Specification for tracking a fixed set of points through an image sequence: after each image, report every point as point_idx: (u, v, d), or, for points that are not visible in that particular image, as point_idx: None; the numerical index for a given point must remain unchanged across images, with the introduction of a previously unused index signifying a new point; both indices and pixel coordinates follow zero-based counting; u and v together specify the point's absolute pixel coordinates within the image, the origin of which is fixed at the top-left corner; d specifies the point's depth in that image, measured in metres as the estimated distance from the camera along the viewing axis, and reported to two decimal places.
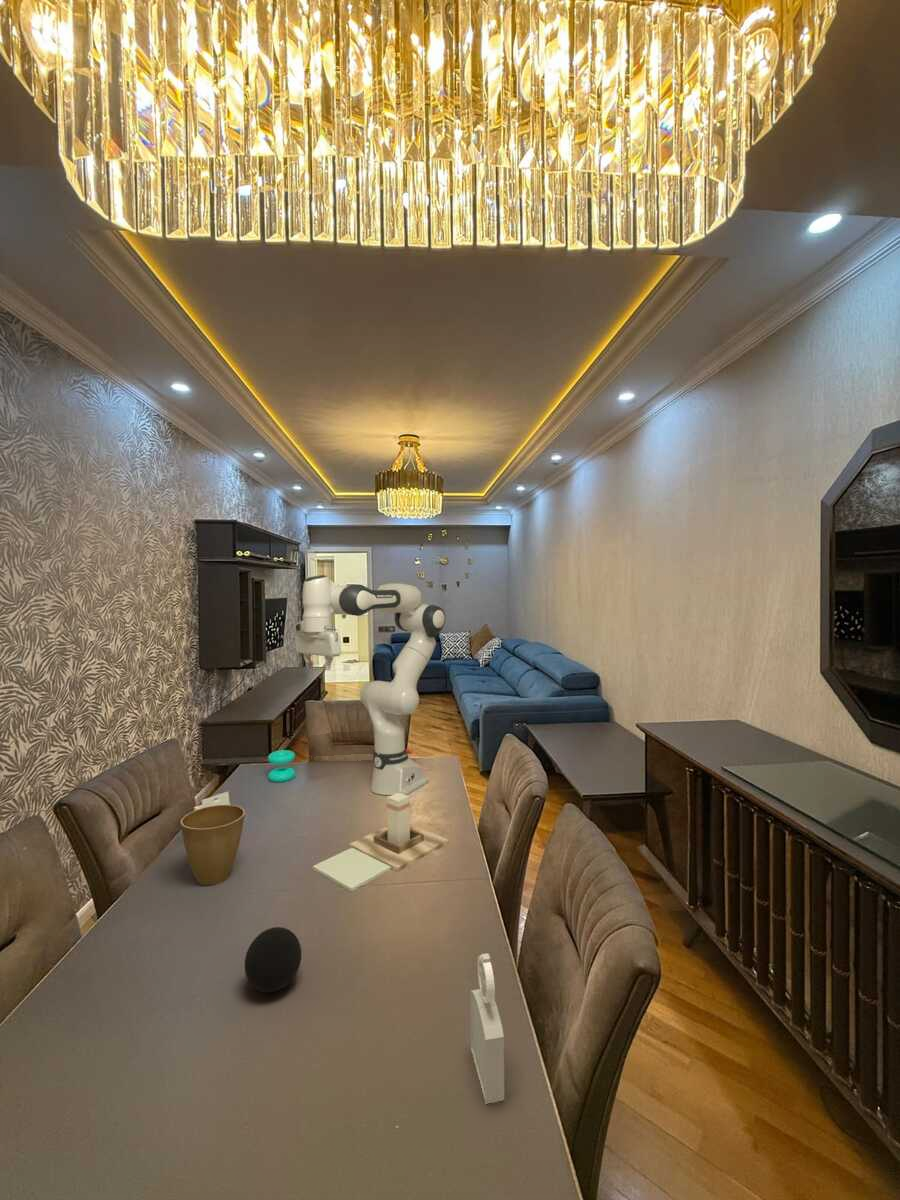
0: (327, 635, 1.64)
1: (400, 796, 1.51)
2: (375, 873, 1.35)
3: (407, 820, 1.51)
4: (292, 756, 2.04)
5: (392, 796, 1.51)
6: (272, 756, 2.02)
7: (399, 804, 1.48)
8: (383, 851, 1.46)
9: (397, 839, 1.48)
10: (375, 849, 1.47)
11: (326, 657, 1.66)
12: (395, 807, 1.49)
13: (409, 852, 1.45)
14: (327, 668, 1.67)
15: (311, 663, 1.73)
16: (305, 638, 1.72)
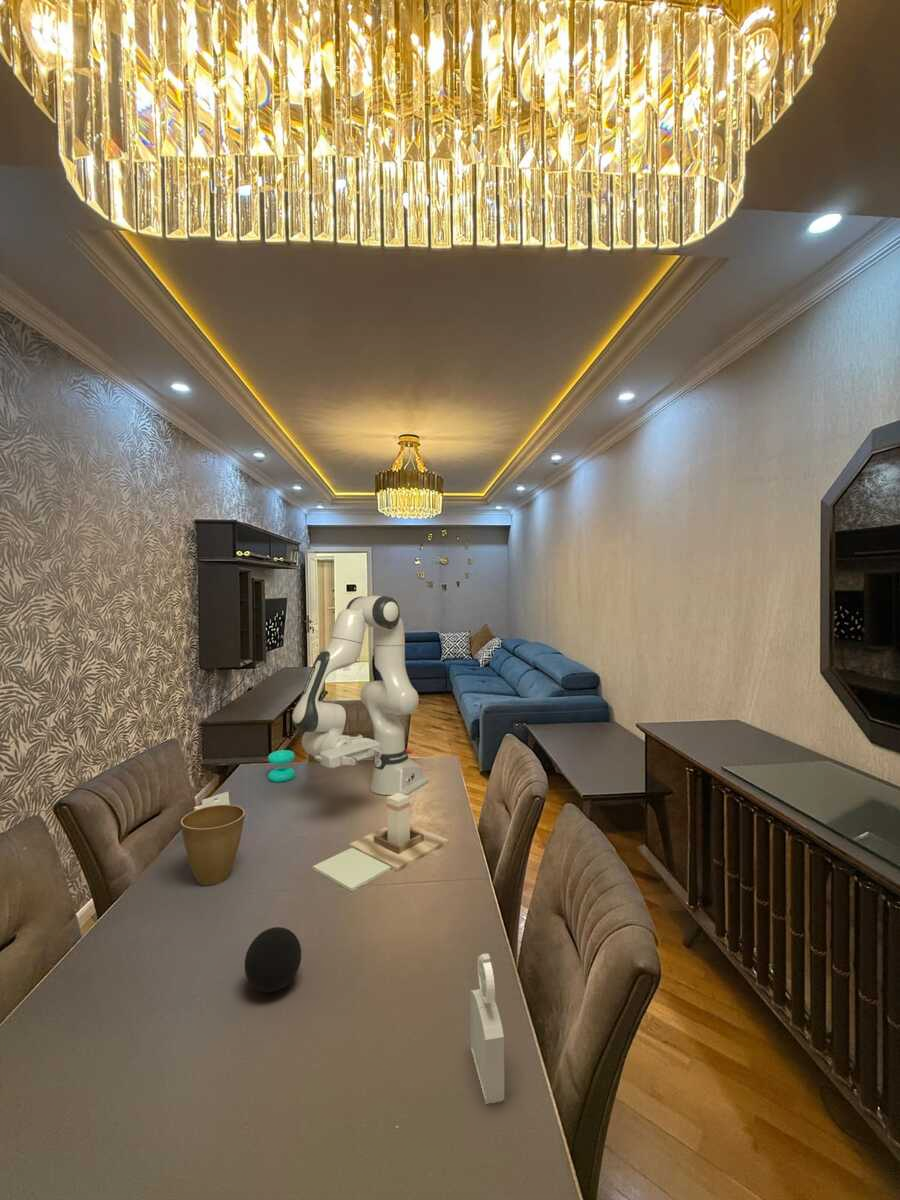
0: None
1: (400, 796, 1.51)
2: (375, 873, 1.35)
3: (407, 820, 1.51)
4: (292, 756, 2.04)
5: (392, 796, 1.51)
6: (272, 756, 2.02)
7: (399, 804, 1.48)
8: (383, 851, 1.46)
9: (397, 839, 1.48)
10: (375, 849, 1.47)
11: None
12: (395, 807, 1.49)
13: (409, 852, 1.45)
14: (352, 763, 1.56)
15: (374, 753, 1.63)
16: None
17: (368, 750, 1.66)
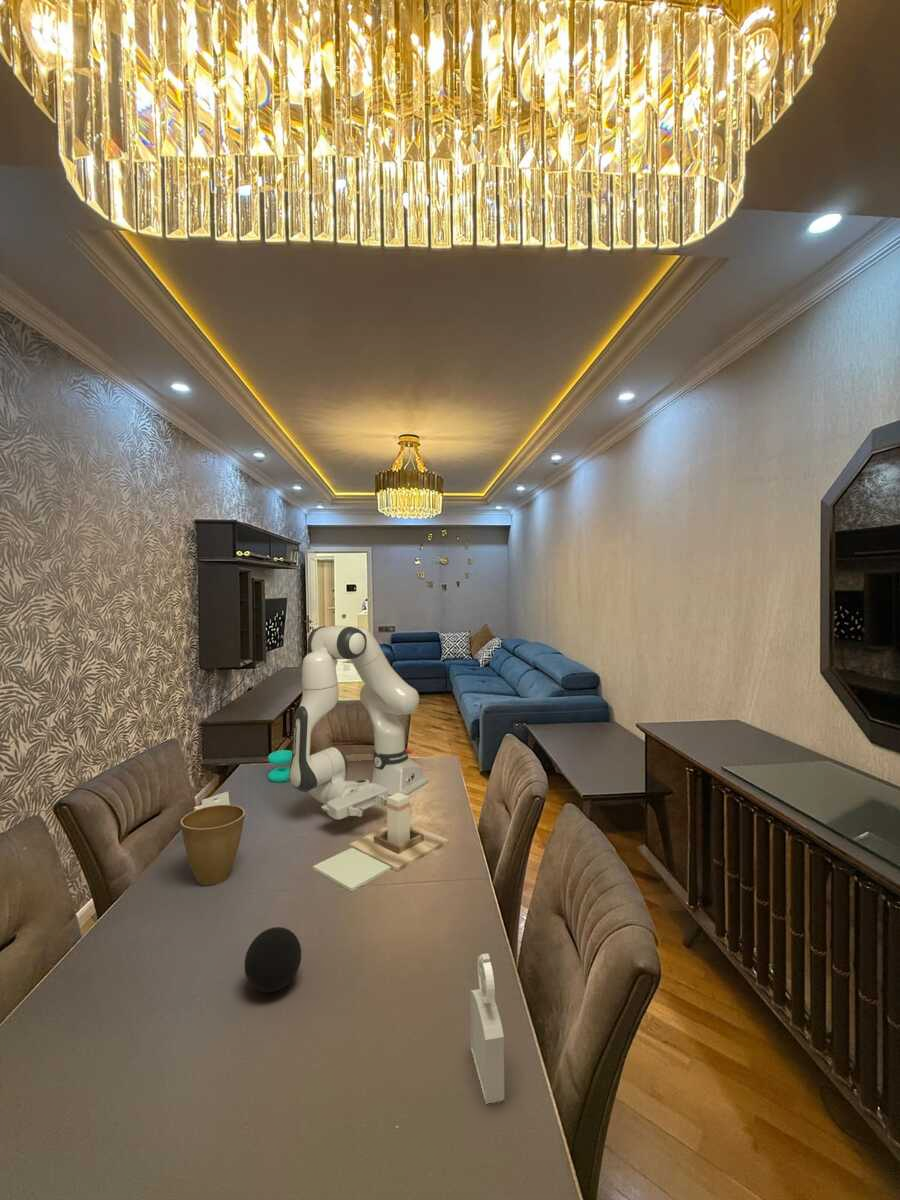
0: None
1: (400, 796, 1.51)
2: (375, 873, 1.35)
3: (407, 820, 1.51)
4: None
5: (392, 796, 1.51)
6: (272, 756, 2.02)
7: (399, 804, 1.48)
8: (383, 851, 1.46)
9: (397, 839, 1.48)
10: (375, 849, 1.47)
11: None
12: (395, 807, 1.49)
13: (409, 852, 1.45)
14: (359, 814, 1.54)
15: (382, 801, 1.62)
16: None
17: (375, 797, 1.65)
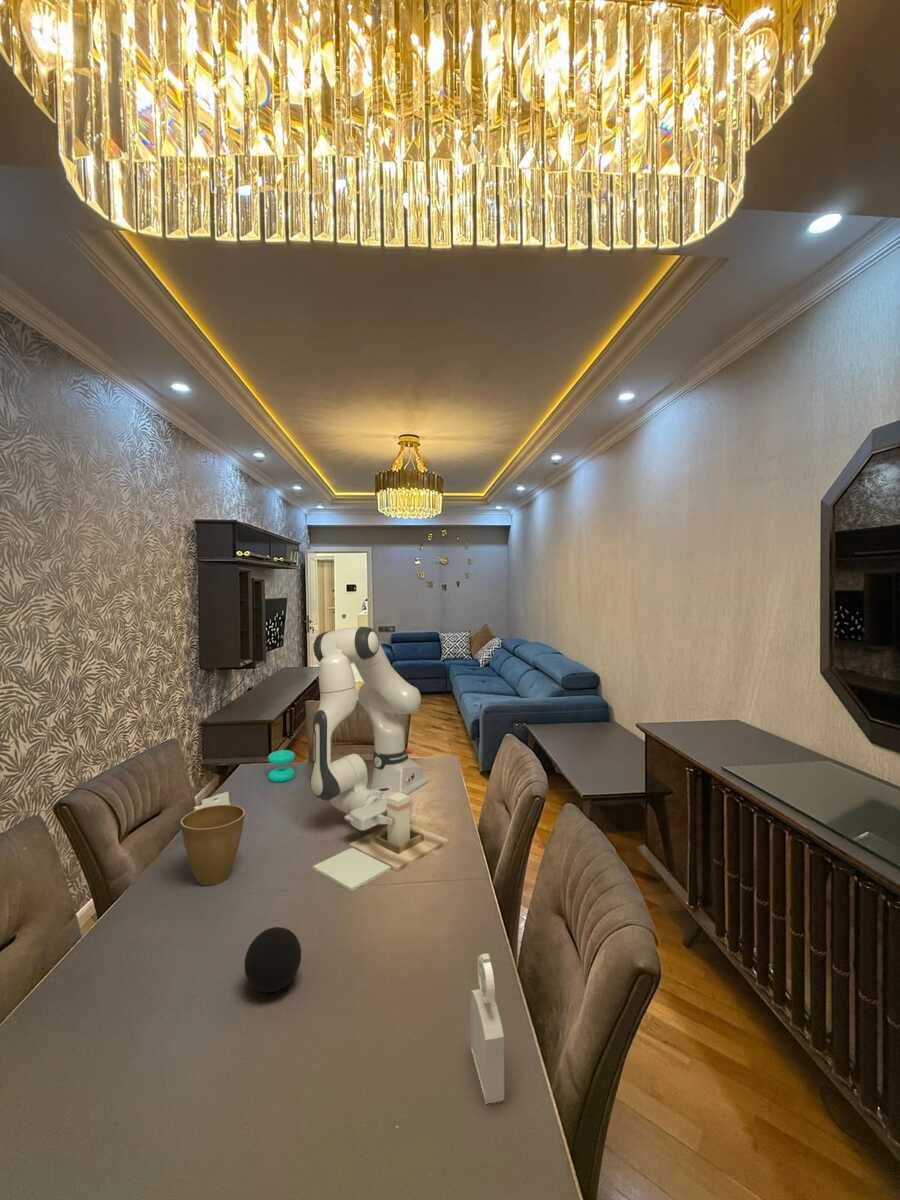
0: None
1: (400, 796, 1.51)
2: (375, 873, 1.35)
3: (407, 820, 1.51)
4: (292, 756, 2.04)
5: (392, 796, 1.51)
6: (272, 756, 2.02)
7: (399, 804, 1.48)
8: (383, 851, 1.46)
9: (397, 839, 1.48)
10: (375, 849, 1.47)
11: None
12: (395, 807, 1.49)
13: (409, 852, 1.45)
14: (389, 823, 1.48)
15: None
16: None
17: None
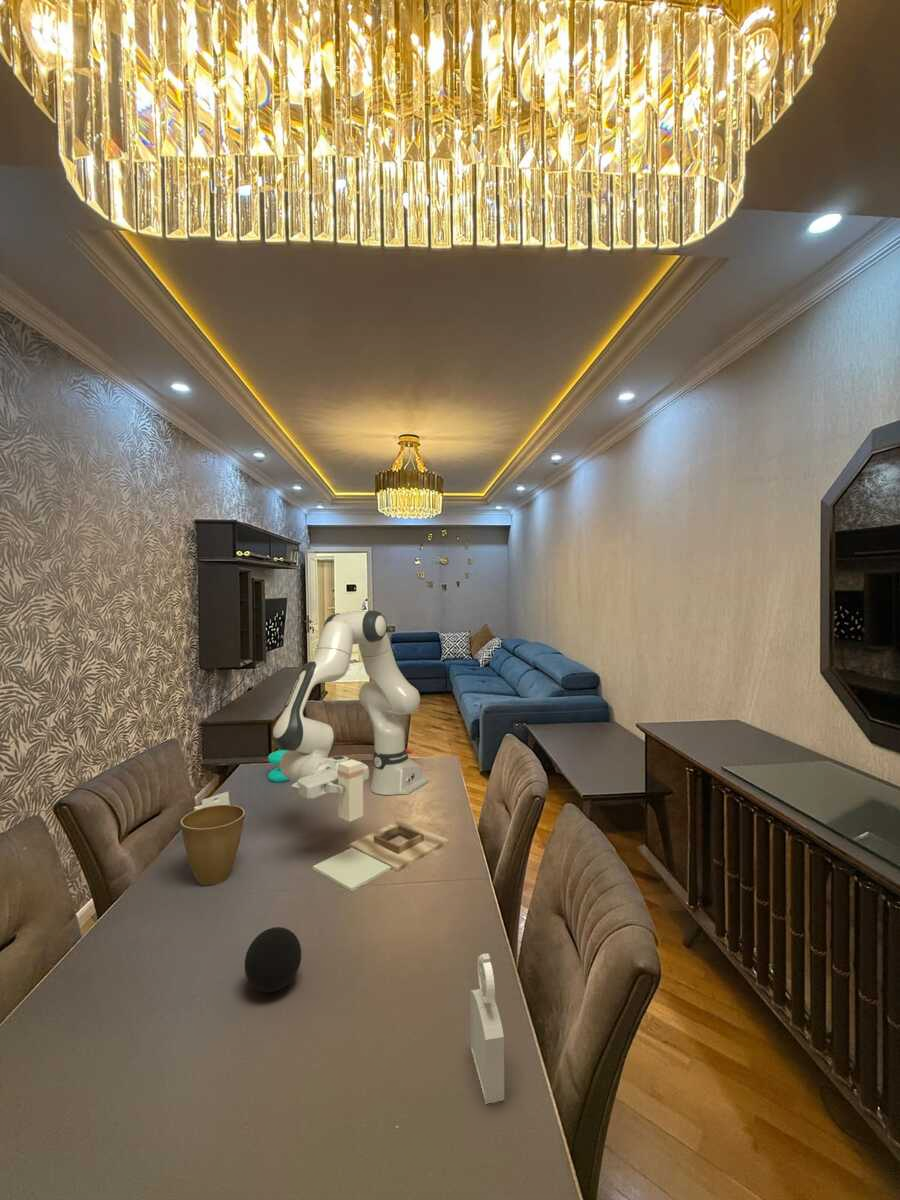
0: None
1: (352, 763, 1.38)
2: (375, 873, 1.35)
3: (360, 789, 1.38)
4: None
5: (344, 762, 1.38)
6: (272, 756, 2.02)
7: (350, 770, 1.35)
8: (383, 851, 1.46)
9: (348, 809, 1.35)
10: (375, 849, 1.47)
11: None
12: (345, 773, 1.35)
13: (409, 852, 1.45)
14: (339, 791, 1.35)
15: None
16: None
17: None
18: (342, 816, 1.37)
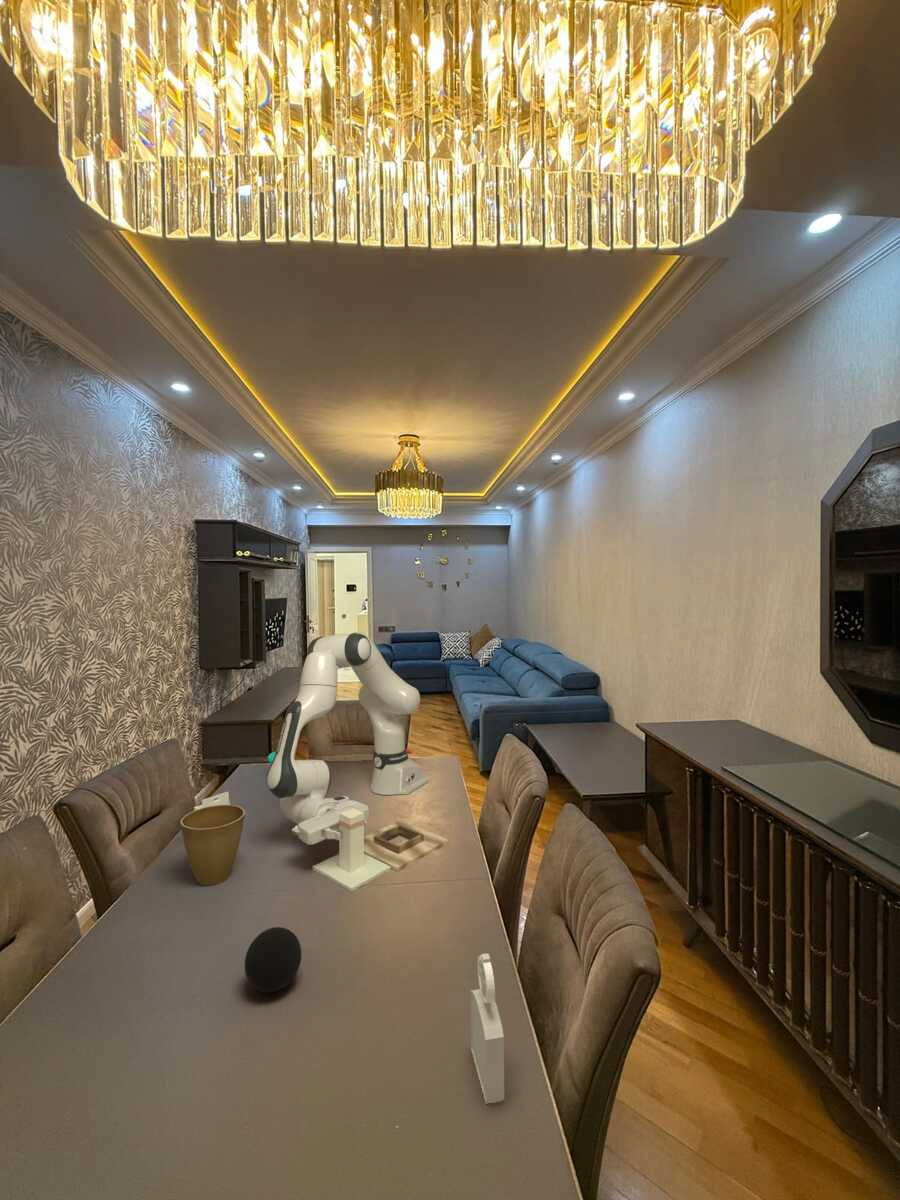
0: None
1: (354, 813, 1.38)
2: (375, 873, 1.35)
3: (361, 839, 1.38)
4: None
5: (345, 812, 1.38)
6: (272, 756, 2.02)
7: (352, 821, 1.35)
8: (383, 851, 1.46)
9: (349, 860, 1.36)
10: (375, 849, 1.47)
11: None
12: (347, 824, 1.36)
13: (409, 852, 1.45)
14: (337, 837, 1.35)
15: None
16: None
17: None
18: (343, 867, 1.37)
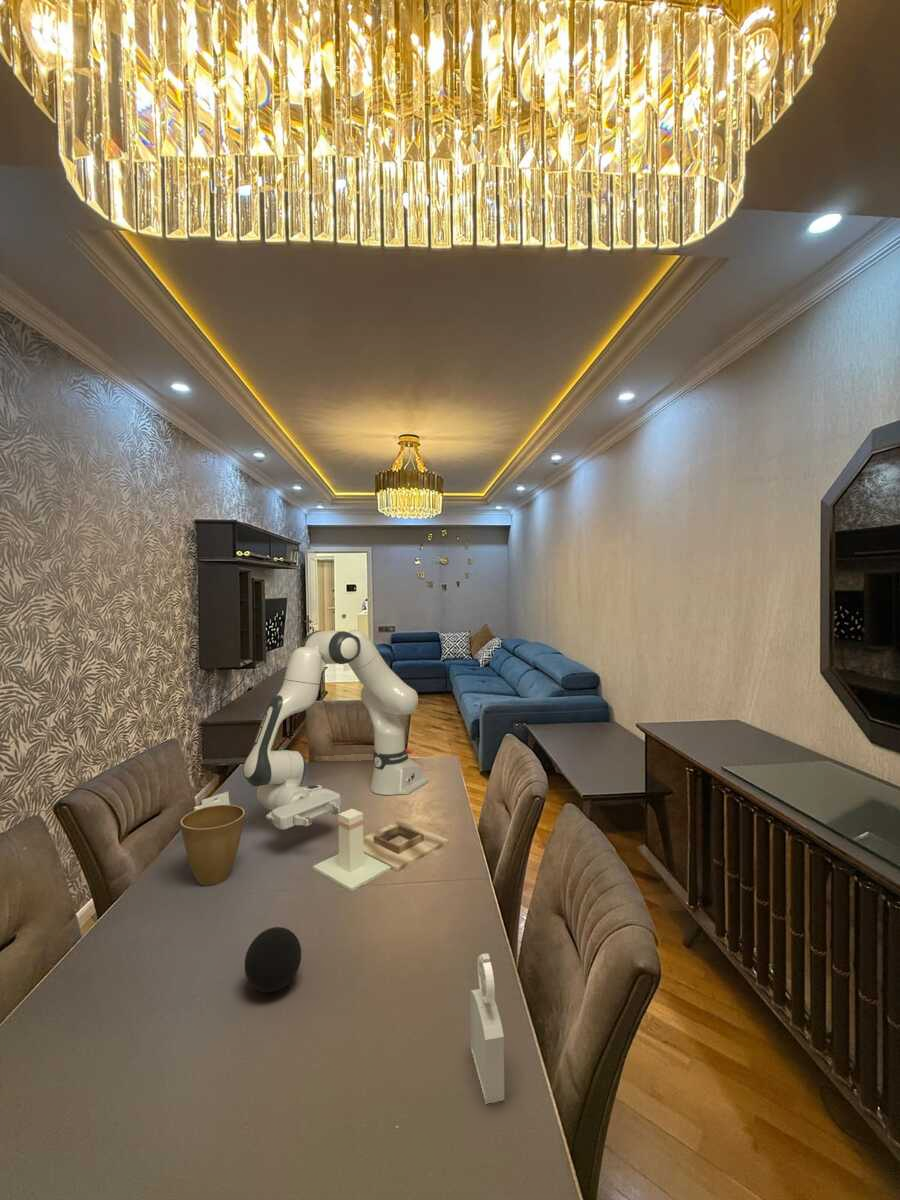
0: None
1: (352, 813, 1.38)
2: (375, 873, 1.35)
3: (360, 839, 1.38)
4: None
5: (344, 813, 1.38)
6: None
7: (351, 822, 1.35)
8: (383, 851, 1.46)
9: (348, 860, 1.36)
10: (375, 849, 1.47)
11: None
12: (346, 825, 1.36)
13: (409, 852, 1.45)
14: (305, 824, 1.43)
15: (332, 809, 1.50)
16: None
17: (326, 805, 1.53)
18: (343, 867, 1.37)
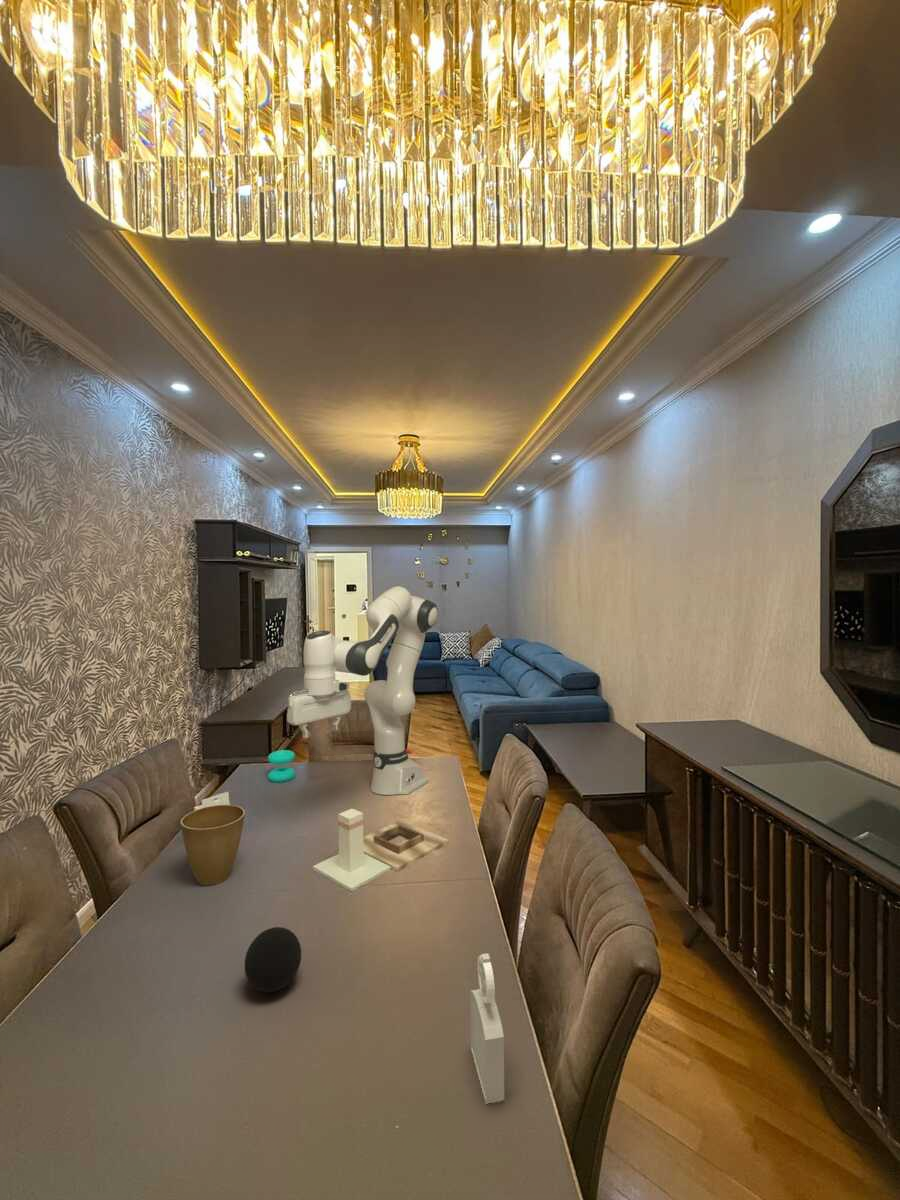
0: None
1: (352, 813, 1.38)
2: (375, 873, 1.35)
3: (360, 839, 1.38)
4: (292, 756, 2.04)
5: (344, 813, 1.38)
6: (272, 756, 2.02)
7: (351, 822, 1.35)
8: (383, 851, 1.46)
9: (348, 860, 1.36)
10: (375, 849, 1.47)
11: None
12: (346, 825, 1.36)
13: (409, 852, 1.45)
14: (303, 735, 1.51)
15: (332, 726, 1.58)
16: None
17: None
18: (343, 867, 1.37)
